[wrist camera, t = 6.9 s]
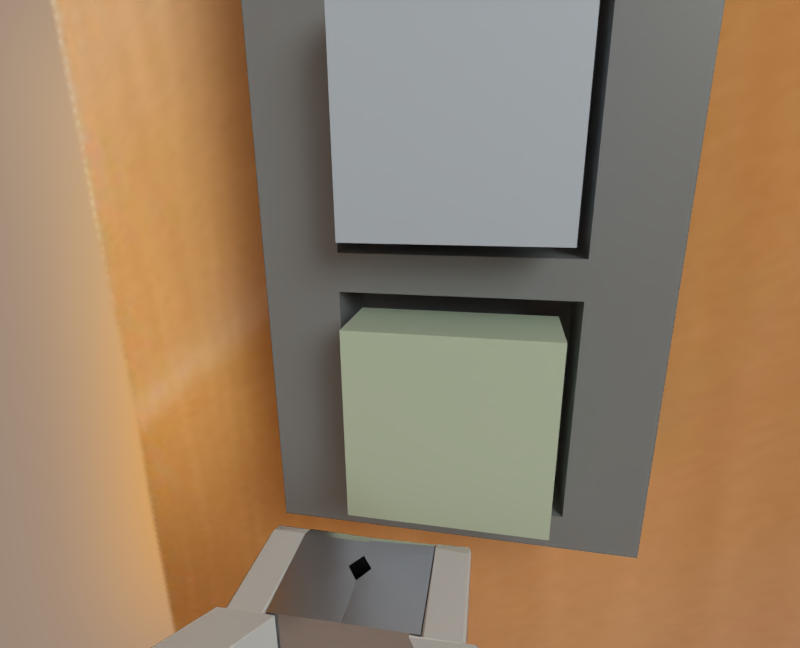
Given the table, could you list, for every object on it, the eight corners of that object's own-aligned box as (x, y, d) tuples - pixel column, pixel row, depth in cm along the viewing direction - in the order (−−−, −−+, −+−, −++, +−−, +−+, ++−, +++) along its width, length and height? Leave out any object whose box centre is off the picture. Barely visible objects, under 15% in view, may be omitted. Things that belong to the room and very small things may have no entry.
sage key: (543, 490, 14) (548, 540, 12) (367, 471, 15) (347, 514, 13) (558, 316, 13) (567, 343, 11) (363, 307, 14) (339, 330, 12)
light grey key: (566, 234, 12) (576, 247, 10) (360, 231, 13) (335, 242, 11) (587, -11, 11) (604, -48, 9) (353, 6, 11) (323, -25, 10)
